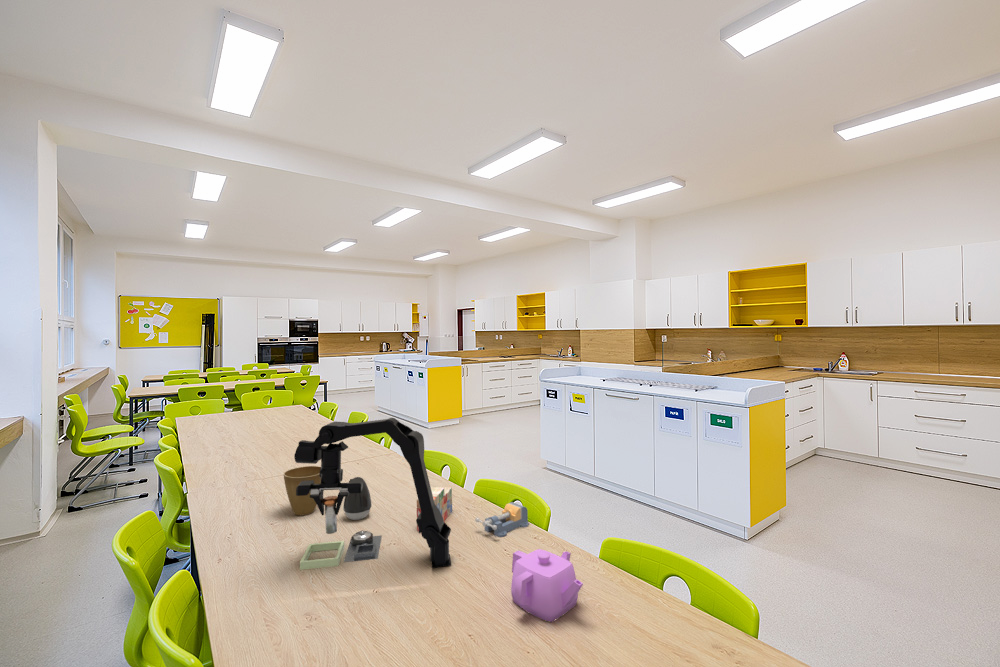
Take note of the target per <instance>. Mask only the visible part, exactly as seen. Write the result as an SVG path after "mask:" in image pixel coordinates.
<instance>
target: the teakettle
mask: <svg viewBox="0 0 1000 667" xmlns="http://www.w3.org/2000/svg"><path fill="white" fill-rule="evenodd" d="M571 554H572V553H571V552H569V551H563V552H562V553H561V556H559V555H557V554H555V553H552V552H550V551H548V550H545V549H540V548H538V549H535V550H533V551H530V552H529V553H526V552H524V551H521V550H519V549H518V550H515V552H512V567H511V572H512V576H511V577H512V578H511V587H510V590H511V591H510V592H511V597H512V600H513V603H514V604H516V605H517V606H518V605H519V606H520V607H519V606H518V607H519V608H521V609H522V608H523V609H522V610H524V611H525V610H526V611H525V612H527V613H528V612H529V613H528V614H530V613H531V614H530V615H532V616H533V617H536V618H538V617H539V619H540V618H541V619H540V620H542V619H543V620H542V621H544V620H546V621H545V622H547V621H550V622H549V623H553V622H555V621H556V620H555V619H557V618H558V619H560V618H561V617H563V616H564V615H566V614H567V613H568V612H569V611H570V609H571V608H572V609H573V608H574V607H576V605H577V602H578V598H579V595H578V594H579V592H580V590H581V588H582V587H583V585H584V583H583V582H582V581H581V580H580V579H577V576H576V572H575V569H574V568H575V567H574V565H573V563H572V562H571V560H570V559H571ZM572 609H571V610H572ZM567 611H568V612H567ZM566 612H567V613H566ZM563 614H564V615H563ZM562 615H563V616H562ZM560 616H561V617H560ZM559 617H560V618H559ZM558 619H557V620H558ZM554 620H555V621H554ZM552 621H553V622H552Z"/></svg>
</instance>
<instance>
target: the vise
mask: <svg viewBox="0 0 1000 667" xmlns="http://www.w3.org/2000/svg"><path fill="white" fill-rule="evenodd" d="M528 518H529V517H528V508H527V507H526V506H523V505H521V504H518V503H515V502H513V501H512V502H509V503H506V504H505V506H504V509H503V510H502V511H501V514H500V515H493V516H490V517H486V518H485V519H484V520H481V519H480V517H475V522H476V523H479V522H480V523H482V527H484V531H485V532H487V533H489V532H493V535H494V537H497V538H503V537H504V538H505V537H506V536H507V535H508V533H509V532H511V531H514V530H516V529H518V528H527V527H528V526H530V523H529V521H528Z"/></svg>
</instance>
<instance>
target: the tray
mask: <svg viewBox="0 0 1000 667" xmlns="http://www.w3.org/2000/svg"><path fill="white" fill-rule="evenodd" d="M344 549H345V540H339V541H329V542H328V541H326V542H319V543H318V542H317V543H309V544H308V546H307V547H306V550H305V552H304V553H303V556H302V557H301V559H300V561H299V570H300V571H301V570H310V569H312V570H313V569H322V568H331V567H332V568H333V567H338V566H339V564H340V562H341V558H342V555H343V553H344ZM332 550H333V551H334V550H335V551H336V550H338V551H337V554H336V556H335V557H330V558H329V557H328V558H327V557H326V558H319V559H318V558H317V559H310V560H309V558H310V557H311V554H312V552H313V553H314V552H321V551H322V552H323V551H325V552H326V551H332Z"/></svg>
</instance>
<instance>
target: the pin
mask: <svg viewBox="0 0 1000 667" xmlns="http://www.w3.org/2000/svg"><path fill="white" fill-rule="evenodd" d="M337 497H338V495H329V496H326V497H323V505H324V515H325V516H324V518H325V533H326V534H328V535H332V534H335V533H337V532H338V520H337V518H338V517H337V516H338V515H336V507H337Z"/></svg>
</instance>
